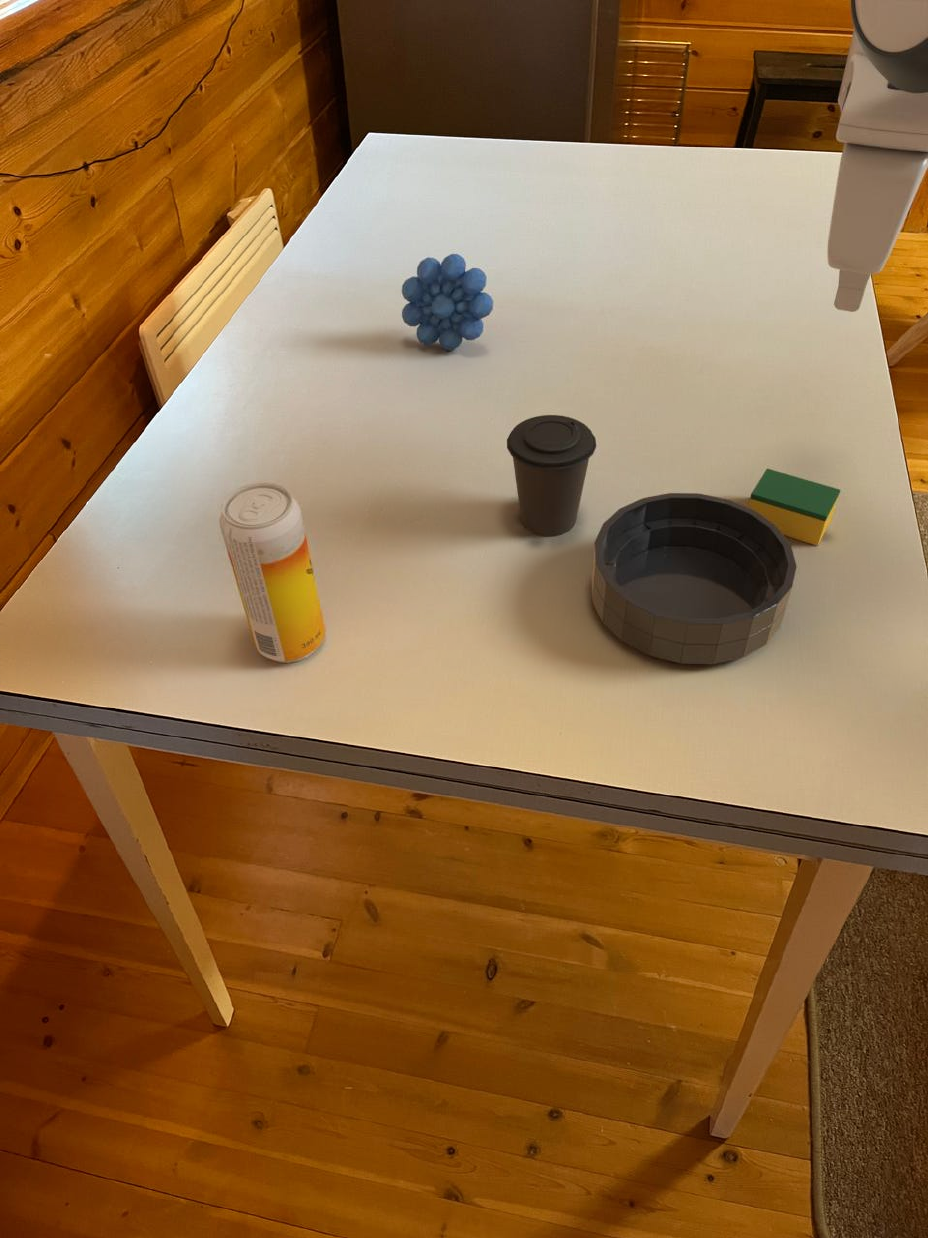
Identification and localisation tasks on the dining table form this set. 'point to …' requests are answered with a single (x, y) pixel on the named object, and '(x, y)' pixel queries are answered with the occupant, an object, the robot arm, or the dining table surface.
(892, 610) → the dining table surface
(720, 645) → the bowl
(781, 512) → the sponge
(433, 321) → the blue knobbed flower
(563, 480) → the coffee cup
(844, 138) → the robot arm
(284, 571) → the beer can
